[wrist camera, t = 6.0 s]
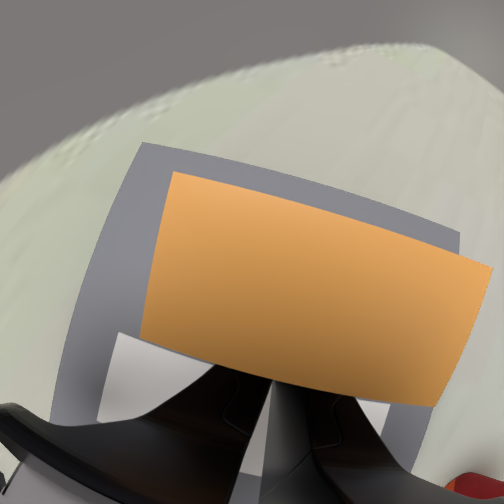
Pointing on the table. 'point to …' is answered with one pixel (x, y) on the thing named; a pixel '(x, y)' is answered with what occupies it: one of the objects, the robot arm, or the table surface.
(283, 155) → the table surface
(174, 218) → the lever
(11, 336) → the table surface
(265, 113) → the table surface
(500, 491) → the paper cup
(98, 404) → the panel
